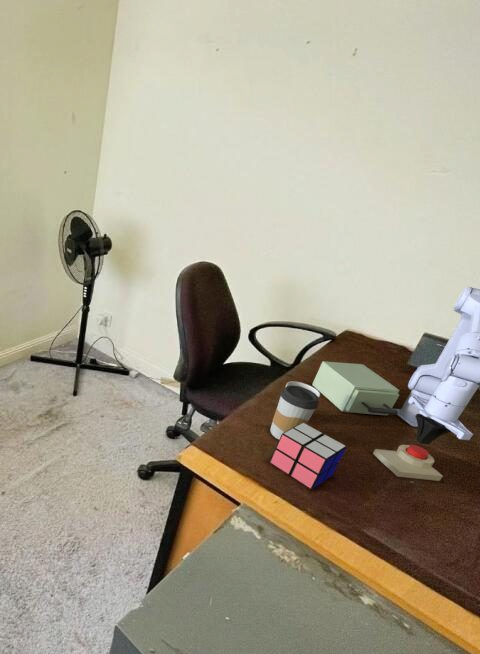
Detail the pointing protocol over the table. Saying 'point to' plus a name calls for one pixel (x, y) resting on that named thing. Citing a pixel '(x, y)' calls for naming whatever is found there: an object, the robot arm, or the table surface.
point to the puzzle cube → (307, 455)
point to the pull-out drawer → (373, 402)
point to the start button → (417, 452)
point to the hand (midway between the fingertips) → (422, 442)
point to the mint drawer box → (347, 382)
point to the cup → (304, 387)
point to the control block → (408, 464)
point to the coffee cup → (293, 409)
